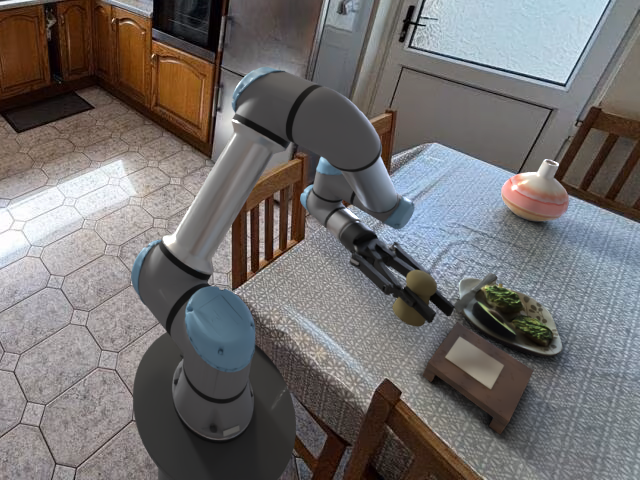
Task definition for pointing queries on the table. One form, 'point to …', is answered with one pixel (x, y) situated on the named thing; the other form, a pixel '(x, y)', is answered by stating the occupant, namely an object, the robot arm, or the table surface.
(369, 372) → the table surface
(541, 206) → the vase
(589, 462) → the table surface
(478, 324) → the salad plate
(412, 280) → the cork
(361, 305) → the table surface
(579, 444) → the table surface
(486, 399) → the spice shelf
